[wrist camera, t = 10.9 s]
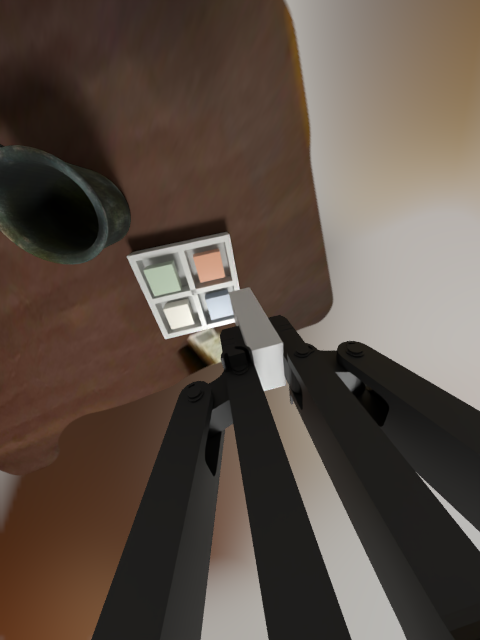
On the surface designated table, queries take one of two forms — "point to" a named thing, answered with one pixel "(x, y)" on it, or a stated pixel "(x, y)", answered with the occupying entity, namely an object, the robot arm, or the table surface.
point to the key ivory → (179, 313)
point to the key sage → (163, 278)
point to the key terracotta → (209, 265)
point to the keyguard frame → (187, 280)
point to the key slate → (219, 304)
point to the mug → (58, 206)
